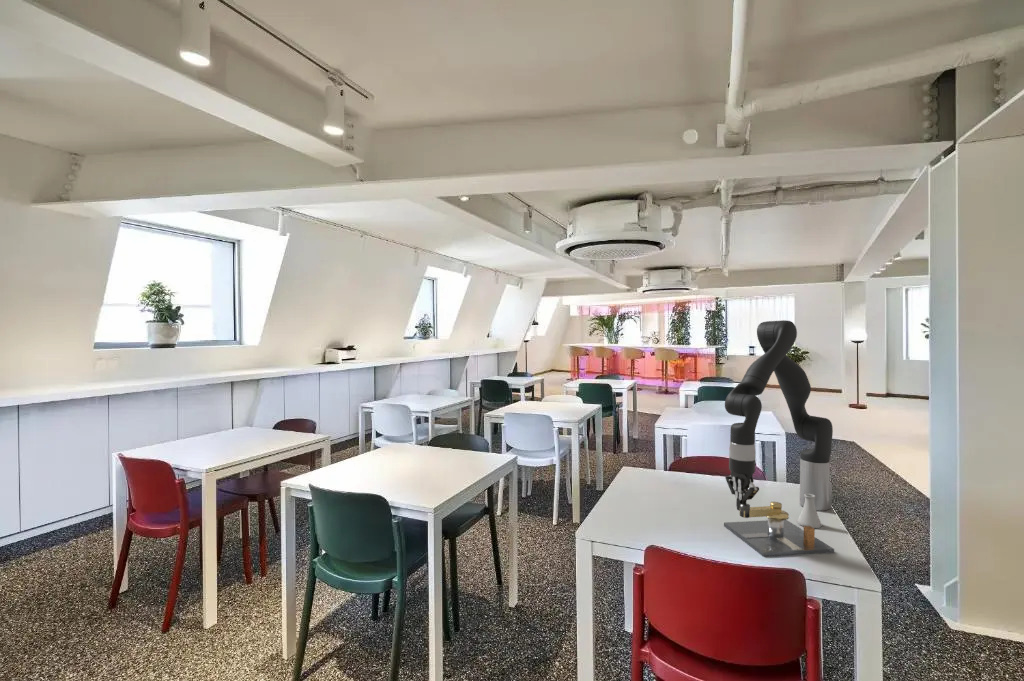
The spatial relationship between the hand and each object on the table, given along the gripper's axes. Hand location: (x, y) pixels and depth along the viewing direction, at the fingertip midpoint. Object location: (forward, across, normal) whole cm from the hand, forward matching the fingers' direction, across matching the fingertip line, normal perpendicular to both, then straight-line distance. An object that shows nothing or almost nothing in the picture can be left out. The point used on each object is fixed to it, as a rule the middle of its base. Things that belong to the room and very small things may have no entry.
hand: (741, 510), depth 159 cm
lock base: (+8, -5, -9) cm, 13 cm away
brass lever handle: (+1, -4, -5) cm, 6 cm away
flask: (+8, +1, -28) cm, 29 cm away
